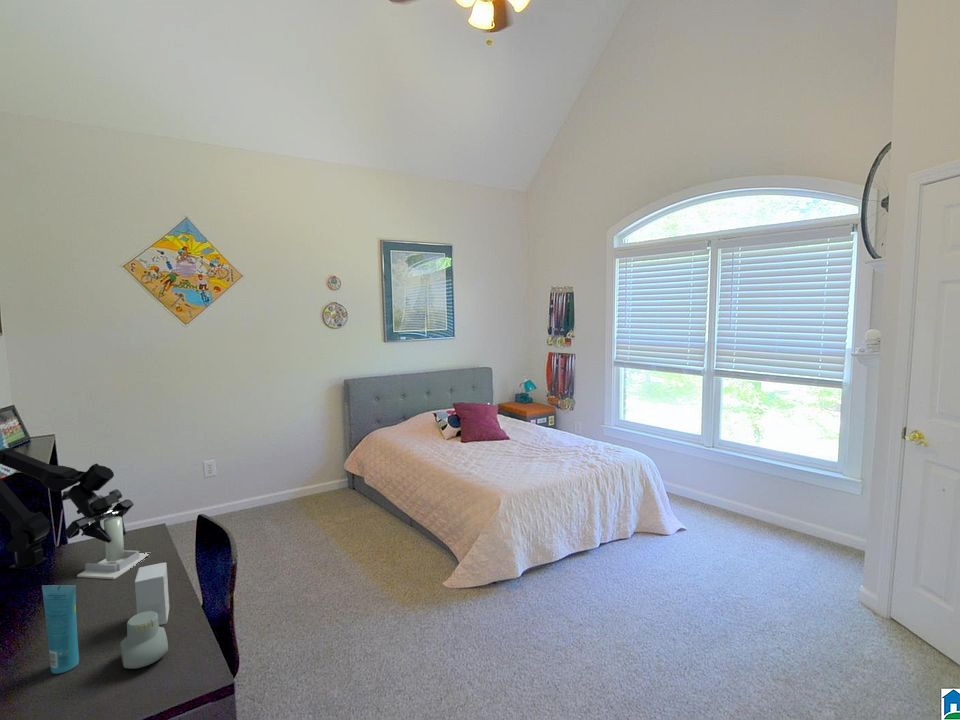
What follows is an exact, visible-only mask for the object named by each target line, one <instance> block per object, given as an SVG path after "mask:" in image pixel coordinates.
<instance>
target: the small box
mask: <svg viewBox="0 0 960 720" xmlns="http://www.w3.org/2000/svg"><path fill="white" fill-rule="evenodd" d="M167 565H168V564H167V562H159V563H156V564H150V565H145V566H140V567H138V569H137V571H136V577H135V579H134V581H133V582H134V590H135V591H134V592H135V606H136V608H135V609H136V615H137V614H139V613H142V612H146V611H153V612H156V613H157V614H158V626H159V627H160V626H161V625H166V624H167V623H168V620H169V612H170V600H169V599H170V597H169V583H168V582H169V581H168V568H167Z"/></svg>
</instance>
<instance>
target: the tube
mask: <svg viewBox="0 0 960 720" xmlns="http://www.w3.org/2000/svg"><path fill="white" fill-rule="evenodd" d="M76 588H77V585H71V584H70V585H67V584H65V585H63V584H61V585H54V584H53V585H52V584H51V585H50V584H49V585H41V590H42V597H43V607H44V615H45V624H46V634H47V643H48V653H49V655H48V656H49V664H50V672H51V673H52V674H56V675H58V674H62V673H66V672H68V671H70V670H72V669H73V668H75V667H77V666H78V664H79V663H80V653H79V642H78V640H79V639H78V627H77V623H78V622H77V608H76V606H77V605H76V604H77V603H76V599H77V598H76Z"/></svg>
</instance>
